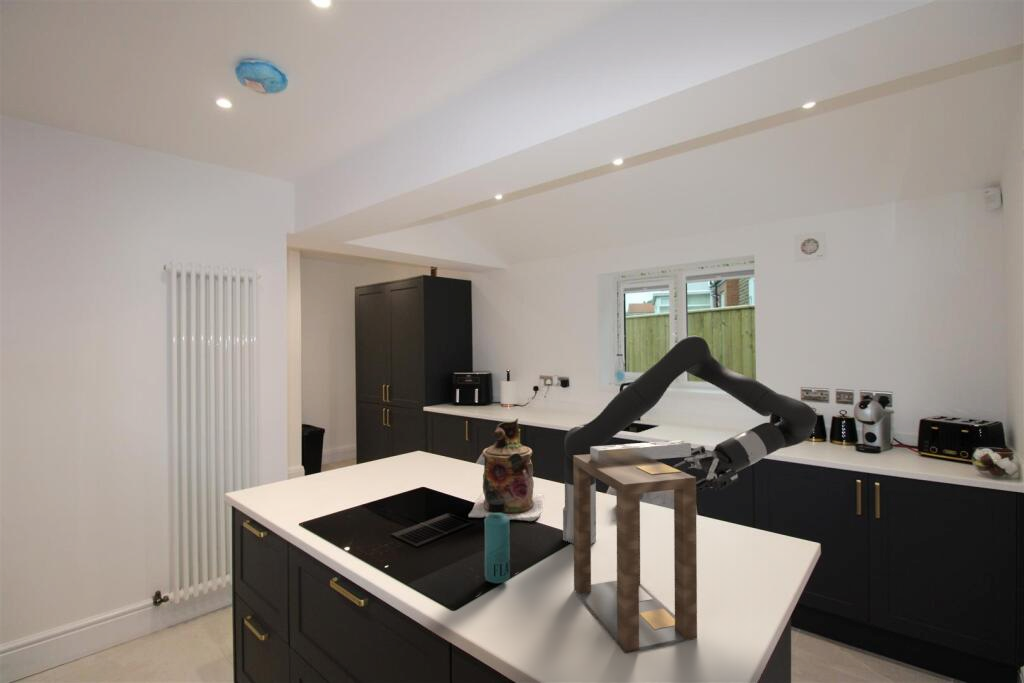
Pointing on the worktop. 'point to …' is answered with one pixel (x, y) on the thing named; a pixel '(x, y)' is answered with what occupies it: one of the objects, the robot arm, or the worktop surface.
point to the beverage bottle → (497, 543)
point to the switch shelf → (637, 554)
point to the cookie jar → (509, 477)
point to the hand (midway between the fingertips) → (682, 480)
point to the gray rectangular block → (639, 451)
